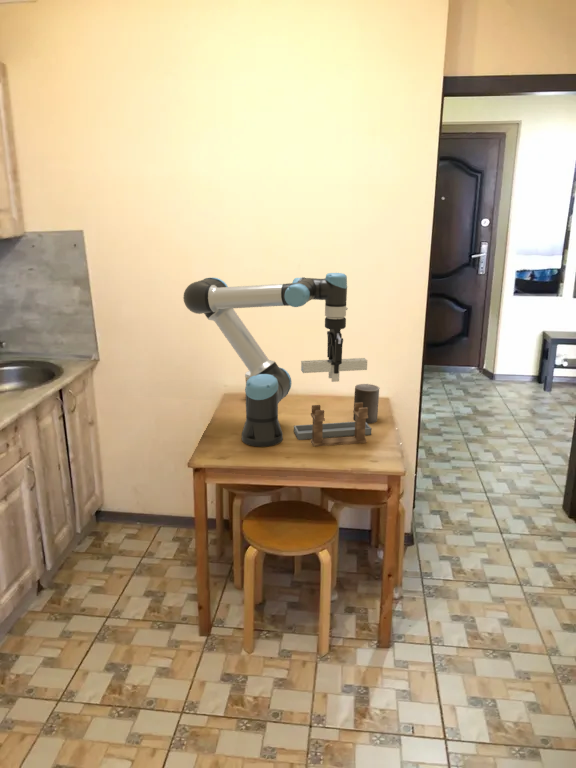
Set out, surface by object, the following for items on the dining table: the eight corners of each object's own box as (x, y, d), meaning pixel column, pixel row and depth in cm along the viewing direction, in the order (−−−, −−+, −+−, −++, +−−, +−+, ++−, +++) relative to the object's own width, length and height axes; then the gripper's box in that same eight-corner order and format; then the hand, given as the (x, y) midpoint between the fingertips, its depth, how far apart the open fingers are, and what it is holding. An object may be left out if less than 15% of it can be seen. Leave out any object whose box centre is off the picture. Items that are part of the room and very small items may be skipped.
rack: (313, 447, 220) (314, 411, 215) (309, 440, 226) (310, 405, 222) (367, 443, 223) (369, 408, 219) (362, 437, 229) (363, 402, 225)
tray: (298, 439, 227) (298, 433, 226) (293, 431, 234) (293, 425, 233) (371, 434, 232) (371, 428, 231) (364, 426, 239) (364, 420, 238)
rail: (303, 373, 222) (303, 363, 220) (301, 370, 225) (301, 360, 224) (367, 369, 226) (367, 360, 225) (364, 367, 229) (364, 357, 228)
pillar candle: (355, 423, 242) (356, 387, 238) (351, 415, 252) (353, 380, 247) (379, 424, 243) (381, 388, 238) (375, 415, 252) (377, 380, 247)
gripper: (352, 321, 212) (349, 385, 219) (339, 312, 228) (337, 372, 235) (331, 322, 211) (329, 386, 218) (319, 313, 227) (318, 373, 234)
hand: (333, 379), depth 226 cm, fingers closed on rail, 4 cm apart
